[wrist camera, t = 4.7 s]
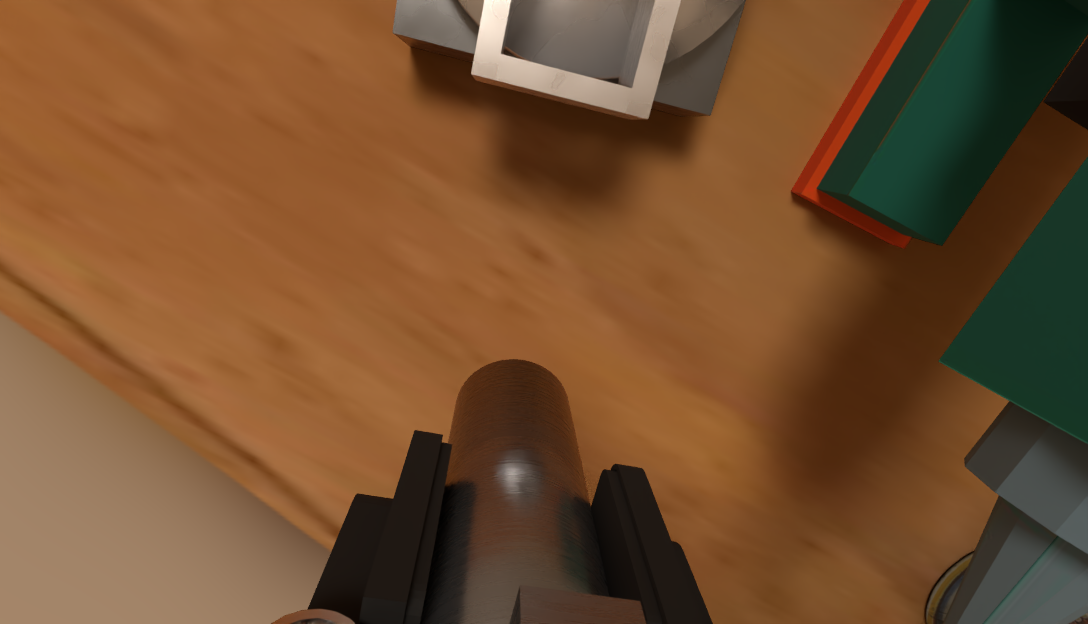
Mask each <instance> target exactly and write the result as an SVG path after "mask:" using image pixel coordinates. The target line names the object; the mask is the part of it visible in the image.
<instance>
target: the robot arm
mask: <svg viewBox="0 0 1088 624" xmlns="http://www.w3.org/2000/svg"><path fill="white" fill-rule="evenodd" d="M442 437H443V435H441V434H435V433H429V432H423V431H417V430H415V431H414V434H413V437H412V440H411V444H410V447H409V450H408V453H407V457H406V460H405V463H404V466H403V469H402V473H401V476H400V479H399V482H398V486H397V489H396V492H395V495H394V498H393V499H390V498H384V497H377V496H370V495H364V494H356V495H355V497H354V499H353V501H352V504H351V506H350V509H349V511H348V513H347V516H346V518H345V521H344V523H343V525H342V528H341V530H340V533H339V535H338V537H337V540H336V542H335V545H334V547H333V549H332V552H331V554H330V557H329V559H328V562H327V564H326V567H325V569H324V571H323V574H322V576H321V578H320V581H319V583H318V586H317V588H316V590H315V593H314V595H313V598H312V600H311V602H310V605H309V607H308V610H301V611H298V612H295V613H291V614H288V615H285V616H283V617H282V618H280V619H278V620H276V621H275V622H273V623H271V624H420V620H421V615H422V610H423V605H424V599H425V594H426V589H427V583H428V578H429V572H430V566H431V561H432V555H433V550H434V544H435V539H436V533H437V527H438V522H439V516H440V511H441V505H442V499H443V494H444V488H445V483H446V477H447V472H448V466H449V460H450V455H451V449H452V444H448V443H442ZM591 511H592V516H593V520H594V525H595V530H596V535H597V540H598V544H599V549H600V554H601V559H602V563H603V568H604V573H605V578H606V582H607V587H608V592H609V597H613V598H621V599H628V600H635V601H640V603H641V606H642V610H643V614H644V617H645V621H646V624H713V623H712V621H711V618H710V616H709V613H708V611H707V608H706V606H705V603H704V601H703V598H702V596H701V594H700V591H699V589H698V586H697V584H696V581H695V579H694V576H693V574H692V571H691V569H690V566H689V564H688V561H687V559H686V556H685V554H684V551H683V550H682V548H681V546H680V545H679V544H678V543H677V542H673V541H671V539H670V536H669V534H668V531H667V528H666V526H665V523H664V521H663V518H662V515H661V513H660V510H659V508H658V505H657V502H656V500H655V497H654V495H653V492H652V490H651V487H650V484H649V482H648V479H647V477H646V474H645V472H644V470H643V469H642V468H638V467H632V466H626V465H620V464H614V465H613V467H612V468H611V470H605V469H604V470H603V471H602V473H601V476H600V479H599V482H598V486H597V489H596V492H595V496H594V499H593V502H592V506H591Z"/></svg>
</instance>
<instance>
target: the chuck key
mask: <svg viewBox="0 0 1088 624" xmlns="http://www.w3.org/2000/svg"><path fill="white" fill-rule="evenodd" d="M448 444H452V449H451V455H450V460H449V466H448V472H447V477H446V483H445V488H444V494H443V499H442V505H441V511H440V516H439V522H438V527H437V533H436V539H435V544H434V550H433V555H432V561H431V566H430V572H429V578H428V583H427V589H426V594H425V599H424V605H423V610H422V615H421V620H420V624H646V621H645V617H644V614H643V610H642V606H641V603H640V601H635V600H628V599H621V598H613V597H609V592H608V587H607V582H606V578H605V573H604V568H603V563H602V559H601V554H600V549H599V544H598V540H597V535H596V530H595V525H594V520H593V516H592V511H591V506H590V501H589V497H588V492H587V487H586V482H585V478H584V473H583V468H582V463H581V459H580V454H579V449H578V444H577V439H576V435H575V430H574V425H573V420H572V416H571V411H570V406H569V401H568V397H567V394H566V392H565V389H564V387H563V386H562V384H561V383H560V381H559V380H558V379H557V378H556V377H555V376H554V375H553V374H552V373H551V372H550V371H548V370H547V369H546V368H544V367H542V366H540V365H538V364H535V363H533V362H529V361H525V360H518V359H509V360H501V361H497V362H493V363H491V364H488V365H486V366H484V367H482V368H480V369H479V370H477V371H476V372H474V373H473V374H472V375H471V376H470V377H469V378H468V379H467V381H466V382H465V383H464V385H463V386H462V388H461V389H460V392H459V394H458V397H457V400H456V405H455V410H454V415H453V421H452V426H451V431H450V436H449V441H448Z"/></svg>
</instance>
